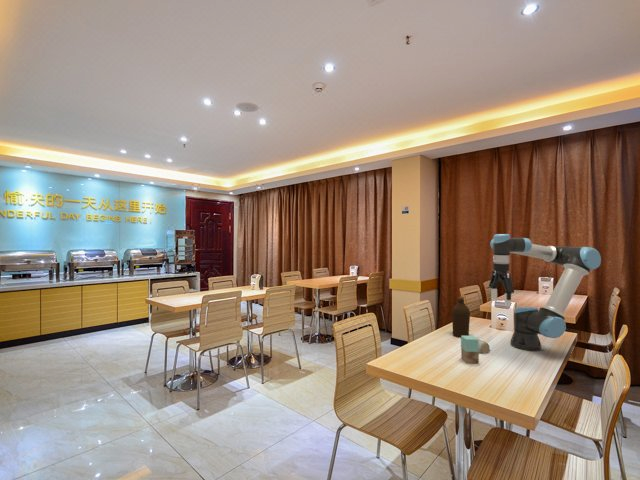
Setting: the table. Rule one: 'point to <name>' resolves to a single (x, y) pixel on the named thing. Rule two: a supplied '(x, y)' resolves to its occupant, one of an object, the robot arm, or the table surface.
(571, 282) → the robot arm
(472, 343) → the teal block
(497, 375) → the table surface
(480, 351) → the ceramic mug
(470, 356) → the walnut block
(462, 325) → the olive oil
